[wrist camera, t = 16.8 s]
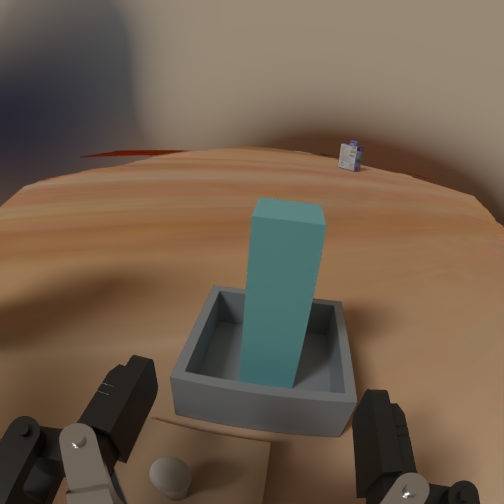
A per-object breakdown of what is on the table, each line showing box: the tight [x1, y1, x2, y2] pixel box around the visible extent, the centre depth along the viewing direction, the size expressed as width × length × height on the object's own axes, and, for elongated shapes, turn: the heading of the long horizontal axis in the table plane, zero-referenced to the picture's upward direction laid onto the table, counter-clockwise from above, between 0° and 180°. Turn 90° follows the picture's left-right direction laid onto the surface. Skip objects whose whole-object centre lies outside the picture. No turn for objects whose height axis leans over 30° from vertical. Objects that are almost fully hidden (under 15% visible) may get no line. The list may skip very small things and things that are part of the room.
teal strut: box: [239, 198, 327, 388], centre depth 23 cm, size 4×4×14 cm
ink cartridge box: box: [338, 140, 363, 171], centre depth 142 cm, size 10×6×14 cm, turn 38°
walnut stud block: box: [115, 417, 271, 504], centre depth 13 cm, size 10×10×6 cm
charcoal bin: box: [170, 285, 357, 437], centre depth 25 cm, size 13×13×4 cm
